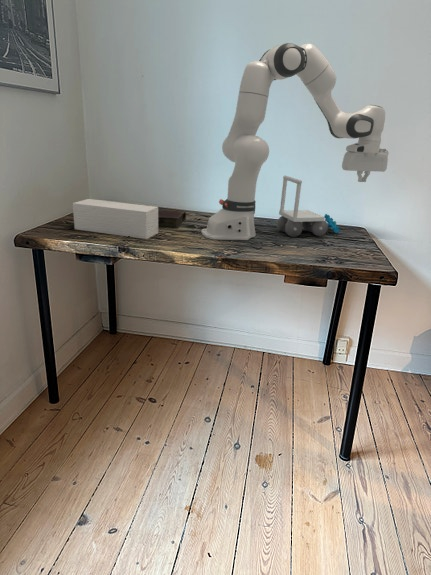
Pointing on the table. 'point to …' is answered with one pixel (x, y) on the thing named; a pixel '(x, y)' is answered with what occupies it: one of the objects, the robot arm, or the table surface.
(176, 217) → the diary
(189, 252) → the table surface
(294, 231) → the trolley
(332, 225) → the blue bumpy piece
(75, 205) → the long white foam block
